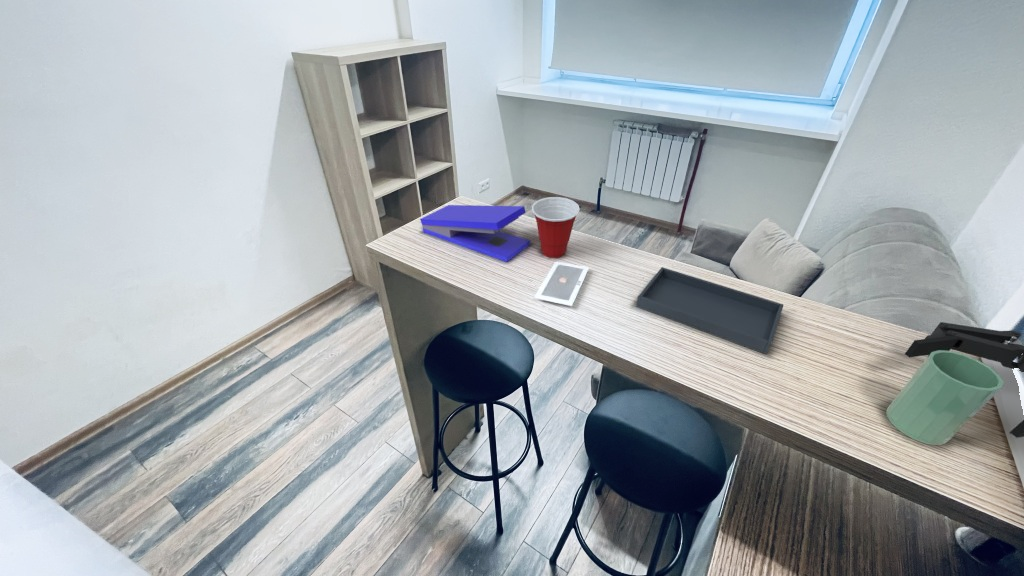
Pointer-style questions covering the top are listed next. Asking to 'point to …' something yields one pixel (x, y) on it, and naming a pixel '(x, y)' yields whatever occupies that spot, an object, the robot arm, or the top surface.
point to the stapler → (478, 228)
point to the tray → (712, 308)
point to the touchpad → (562, 283)
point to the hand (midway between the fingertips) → (960, 384)
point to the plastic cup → (555, 224)
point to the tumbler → (942, 396)
